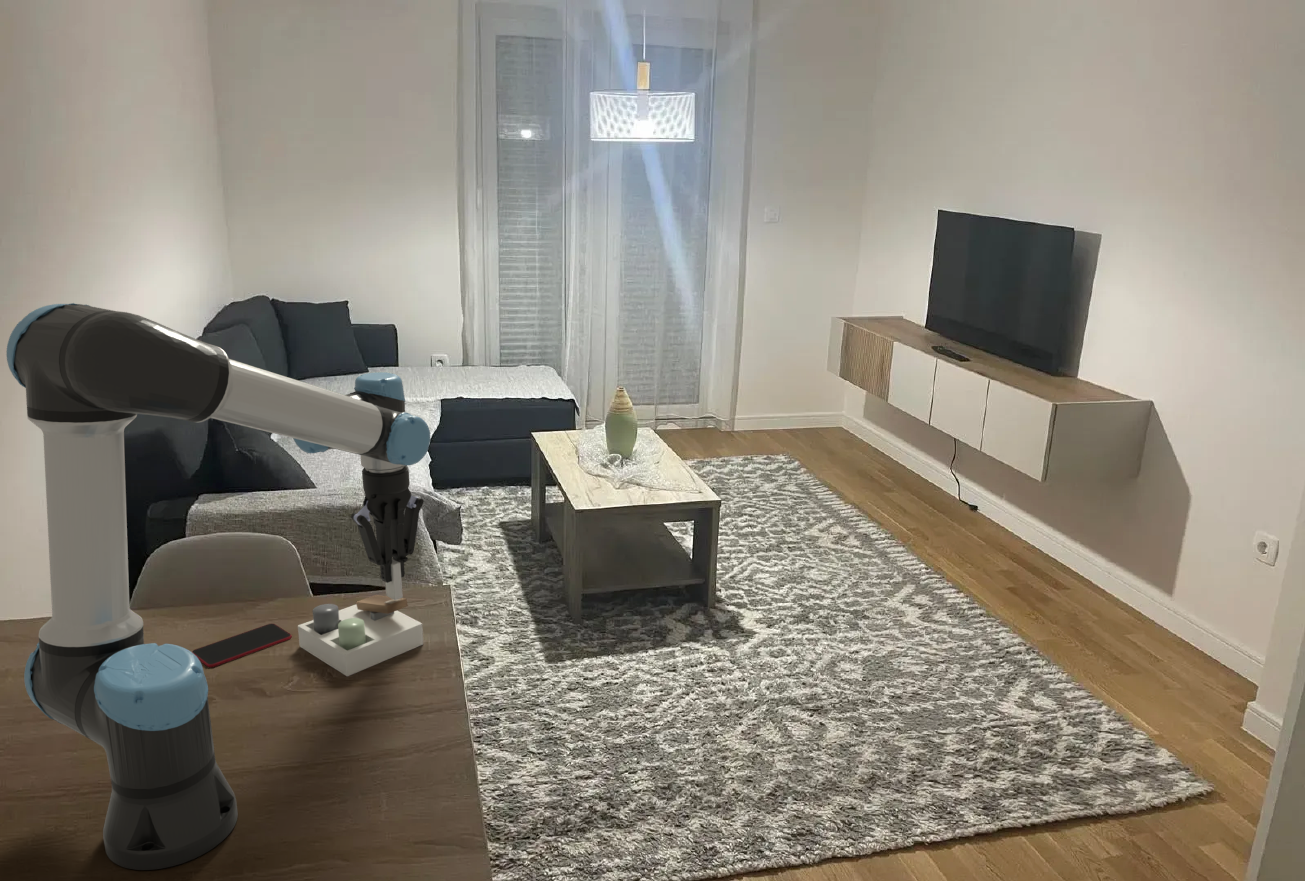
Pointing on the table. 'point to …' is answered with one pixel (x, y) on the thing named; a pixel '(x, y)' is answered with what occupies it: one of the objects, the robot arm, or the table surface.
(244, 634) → the smartphone
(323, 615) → the button graphite
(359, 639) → the button sage
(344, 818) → the table surface
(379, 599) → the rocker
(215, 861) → the table surface
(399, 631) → the panel
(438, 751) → the table surface
